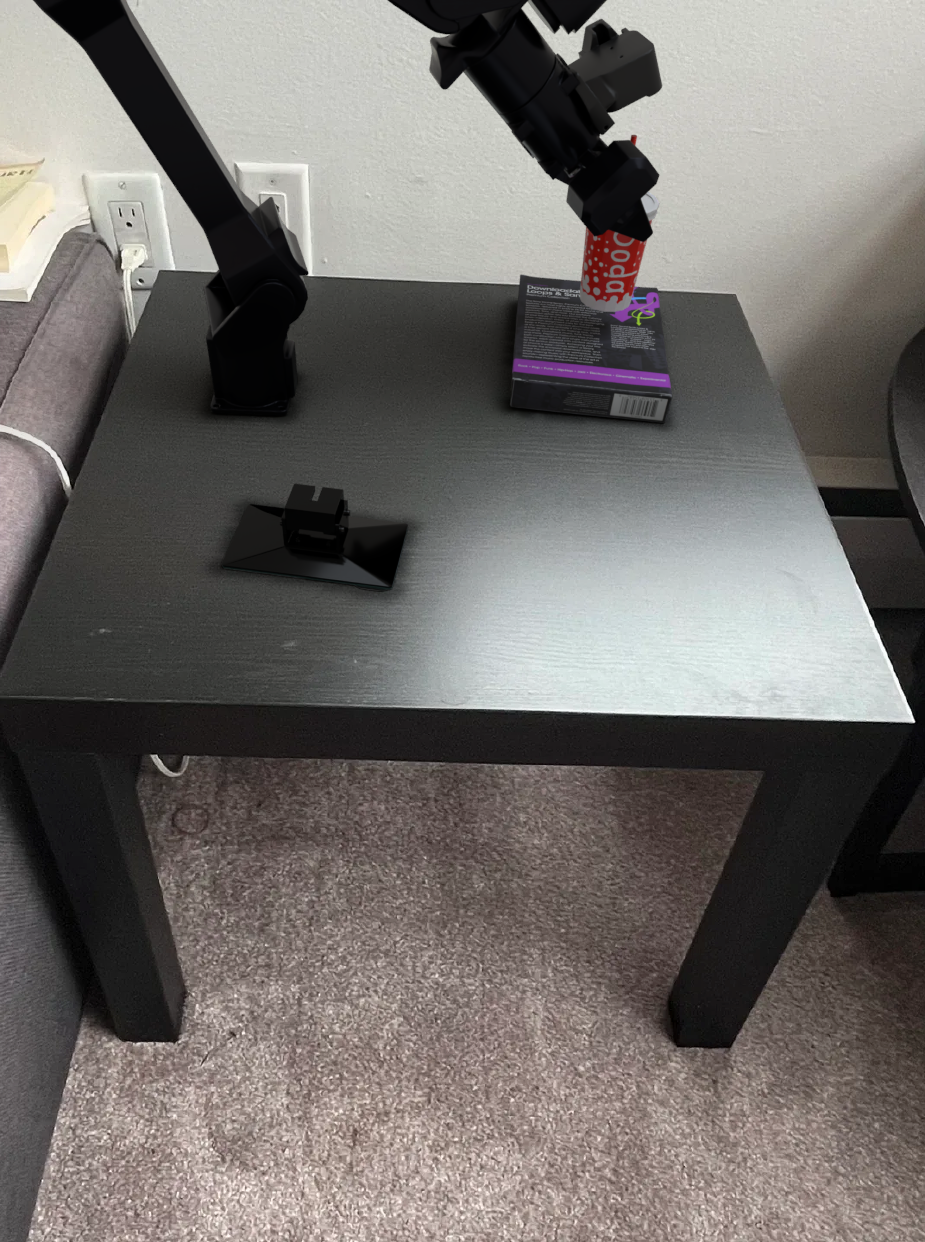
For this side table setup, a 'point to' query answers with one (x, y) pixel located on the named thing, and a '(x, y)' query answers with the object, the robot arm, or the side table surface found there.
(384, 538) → the build plate
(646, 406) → the box
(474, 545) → the side table surface
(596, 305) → the beverage cup
